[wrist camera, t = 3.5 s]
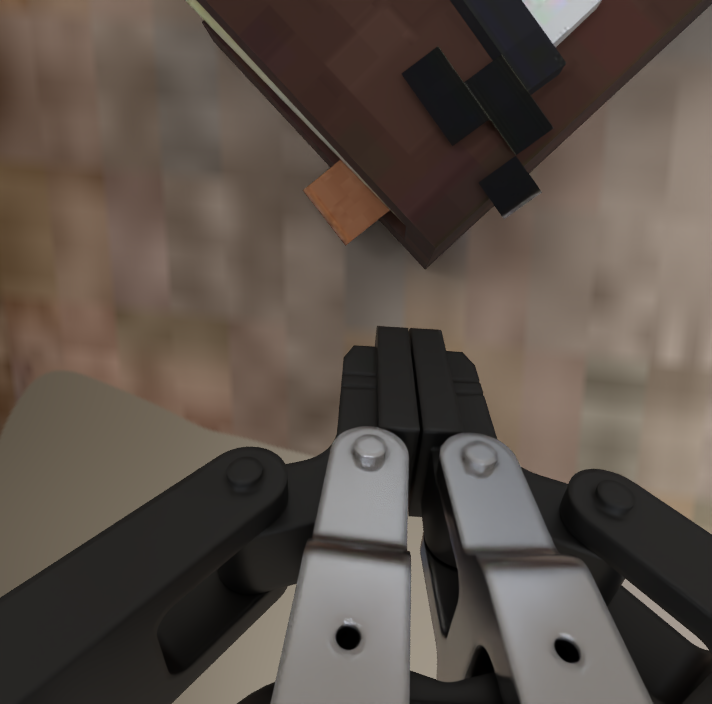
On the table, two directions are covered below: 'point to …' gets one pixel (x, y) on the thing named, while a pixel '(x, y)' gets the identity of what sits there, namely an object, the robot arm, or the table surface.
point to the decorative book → (437, 95)
